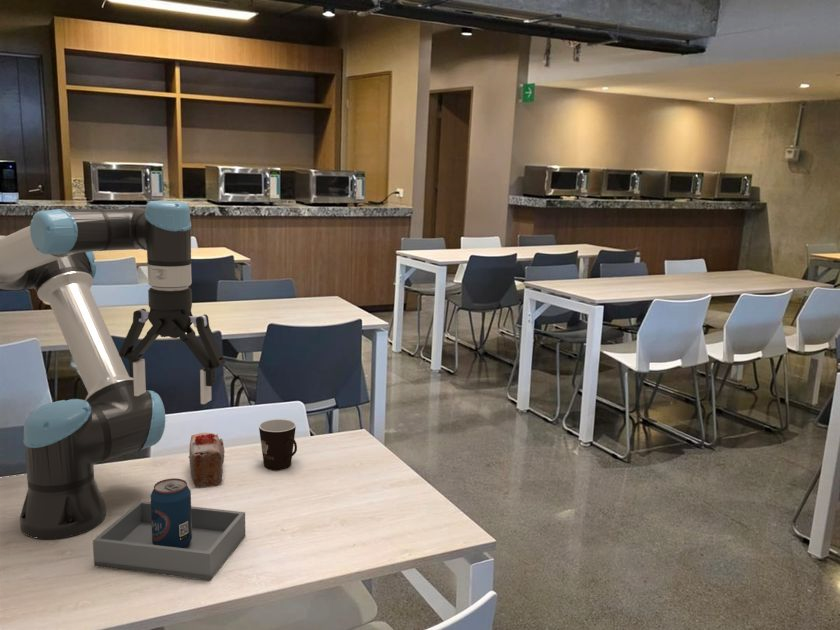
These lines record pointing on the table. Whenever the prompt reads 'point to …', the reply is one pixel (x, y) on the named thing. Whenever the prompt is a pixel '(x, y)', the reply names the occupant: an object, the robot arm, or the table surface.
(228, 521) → the bin
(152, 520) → the soda can
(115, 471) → the table surface
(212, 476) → the food item
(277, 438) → the coffee mug
